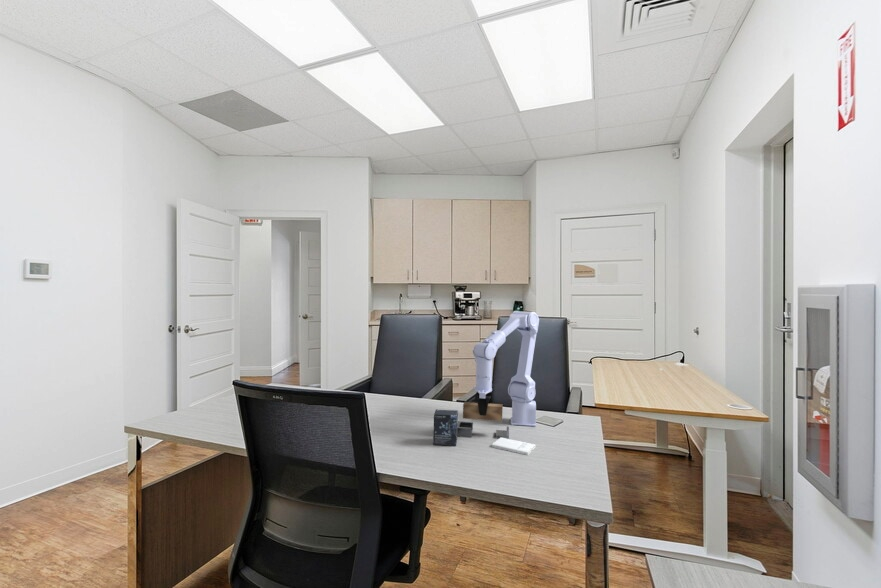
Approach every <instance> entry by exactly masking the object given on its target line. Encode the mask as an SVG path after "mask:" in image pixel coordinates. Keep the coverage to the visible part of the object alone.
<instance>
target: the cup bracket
mask: <svg viewBox="0 0 881 588" xmlns="http://www.w3.org/2000/svg"><path fill="white" fill-rule="evenodd" d="M473 426H474V422H472V421H464V420H463V421H462V420H458V427H457V437H462V438H463V437H466V438H472V435H473V430H474V428H473Z"/></svg>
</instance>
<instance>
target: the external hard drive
mask: <svg viewBox="0 0 881 588" xmlns="http://www.w3.org/2000/svg"><path fill="white" fill-rule="evenodd" d="M536 447H537V445H536V444H535V443H530V442H529V443H528V442H524V441H520V440H516V439H511V438H509V439H506V438H502V437H501V438H497V439H496V441H495V440H494V442H493V443H491V448H494V449H498V450H502V449H503V451H507V450H508V452H511V451H512V453H516V452H517V453H516V454H520V453H521V455H526V456H529V455H530V454H531V453H532V451H534V449H535V448H536Z"/></svg>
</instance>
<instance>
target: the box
mask: <svg viewBox="0 0 881 588" xmlns="http://www.w3.org/2000/svg"><path fill="white" fill-rule="evenodd" d="M458 415H459V411H458V410H454V409H453V410H450V409H447V410H446V409H436V408H435V410H434V414H433V432H432V433H433V442H432V445H435V446H450V447H451V446H452V447H456V446H457V443H458V436H457V427H458V421H459V420H458V419H459V417H458Z"/></svg>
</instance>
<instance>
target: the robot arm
mask: <svg viewBox="0 0 881 588" xmlns="http://www.w3.org/2000/svg"><path fill="white" fill-rule="evenodd" d="M508 318H509V319H508V320H507V321H506V322H505V323H504V324H503V325H502V327H500V329H499V330H497V329H495V330H492V331H491V333H490V334H489V335H488V336H487V337H486V338H485V339H483V341H482V342H481V341H480V342H476V344H475V345H474V347H473V349H472V354H473V356H474V361H475V363H476V364H475V386H473V387H472V390H473V391H475V392H476V394H475V395H474V398H475V400H476V403H478V408H479V413H480V415H484V416H486V412H487V407H488V404H490V403H489V402H490V400H491V398H492V391H493V388H492V387H493V383H492V382H493V359H494V358H495V357H496V355H497V352H498V351H499V350H498V349H500V347H502V345H504V344H505V343H506V340H507V339H506V337H508V336H509V335H510V334H512V332H514V331H515V330H517V331H518V332H519V333H520V334H521V336H522V337H521V338H522V339H521V343H520V344H521V345H520V351H519V357H518V363H517V370H516V374H515V375H514V376H512V377H511V378H510V382H509V384H508V388H507V394H508V395H509V396H510V399H511V404H512V405H511V417H510V424H511V425H513V426H514V425H515V426H528V427H536V423H537V403H536V401H535V400H534V399H535V397H536V392H537V391H536V381H535V380H534V379H533V378H532V377H531V374H532V367H533V361H534V360H533V359H534V352H535V345H536V341H537V340H536V339H537V334H538V331H539V325H540V324H539V323H540V318H539V316H538V314H537V313H536V312H535V311H519V310H514V311H513V312H511V313H510V314H509V317H508Z"/></svg>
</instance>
